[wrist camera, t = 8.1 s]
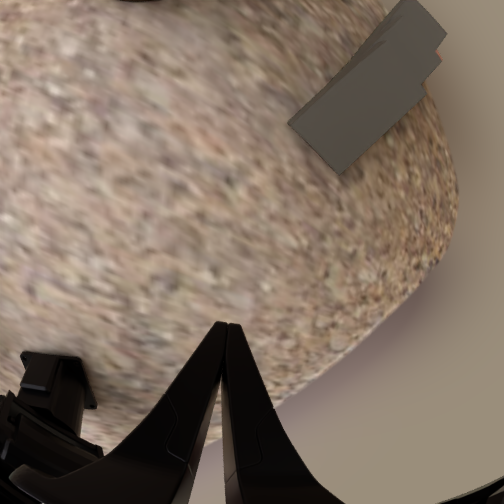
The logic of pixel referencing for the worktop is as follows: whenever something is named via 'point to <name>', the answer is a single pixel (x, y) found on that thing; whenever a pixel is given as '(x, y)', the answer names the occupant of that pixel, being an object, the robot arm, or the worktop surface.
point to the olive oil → (136, 0)
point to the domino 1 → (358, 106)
